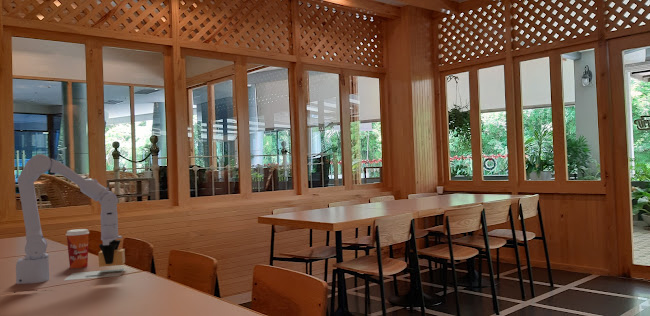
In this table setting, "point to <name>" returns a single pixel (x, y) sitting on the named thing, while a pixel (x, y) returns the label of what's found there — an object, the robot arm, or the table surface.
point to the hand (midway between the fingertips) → (110, 262)
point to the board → (95, 274)
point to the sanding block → (117, 259)
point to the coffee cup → (78, 247)
